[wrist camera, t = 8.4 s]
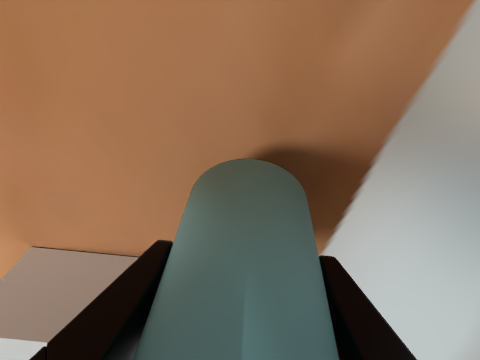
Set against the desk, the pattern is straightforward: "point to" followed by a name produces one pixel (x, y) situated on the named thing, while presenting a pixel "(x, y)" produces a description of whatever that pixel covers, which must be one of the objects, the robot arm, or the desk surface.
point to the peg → (242, 274)
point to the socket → (50, 295)
